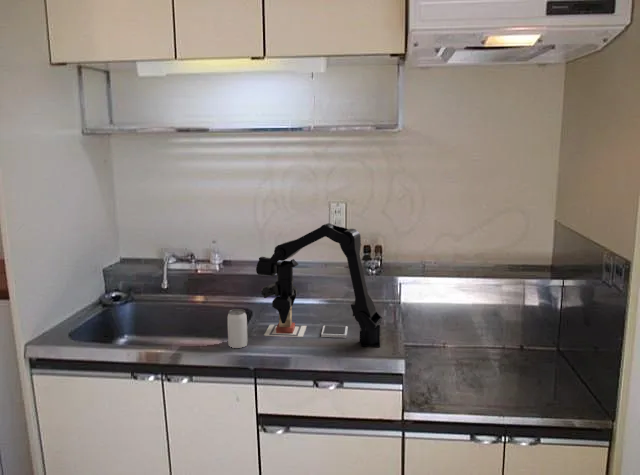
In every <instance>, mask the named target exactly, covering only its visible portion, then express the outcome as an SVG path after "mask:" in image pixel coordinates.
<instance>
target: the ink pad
mask: <svg viewBox="0 0 640 475" xmlns="http://www.w3.org/2000/svg"><path fill="white" fill-rule="evenodd" d="M348 329H349V326H347V325H346V326H345V325H323V326H322V330H321V334H320V335H321V336H320V338H340V339H341V338H343V339H347V337H348Z"/></svg>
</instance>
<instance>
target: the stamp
mask: <svg viewBox="0 0 640 475" xmlns="http://www.w3.org/2000/svg"><path fill="white" fill-rule="evenodd" d="M292 308H293V306H291V308H290V311H289V313H288V316H287V319H286V322H285V323H282V322H281V318H280V315H279V314H278V321H279V322H278V324H276V325H277V327H276V333H291V334H293V331H294V329H295V325H296V322H293V317H292V316H293V309H292Z"/></svg>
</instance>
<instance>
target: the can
mask: <svg viewBox="0 0 640 475" xmlns="http://www.w3.org/2000/svg"><path fill="white" fill-rule="evenodd" d="M247 318H248V316H247V313H246V310H244V309H241V308H240V309H239V308H237V309H236V308H235V309H230V310H228V314H227V344H228V347H229V346H230V347H229V348H231V347H232V348H231V349H234V348H240V349H242V347H244V348H245V346H248V319H247Z"/></svg>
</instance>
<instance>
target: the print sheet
mask: <svg viewBox="0 0 640 475" xmlns="http://www.w3.org/2000/svg"><path fill="white" fill-rule="evenodd" d="M277 325H278V324H269V325H268V328H267V329H266V331H265V332H264V334H263V336H264V337H280V338H281V337H282V338H283V337H285V338H304V335H305V333H306V330H307V325H300V324H299V325H297V324H295V329H294V331H293V334H291V333H276V327H277Z"/></svg>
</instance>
